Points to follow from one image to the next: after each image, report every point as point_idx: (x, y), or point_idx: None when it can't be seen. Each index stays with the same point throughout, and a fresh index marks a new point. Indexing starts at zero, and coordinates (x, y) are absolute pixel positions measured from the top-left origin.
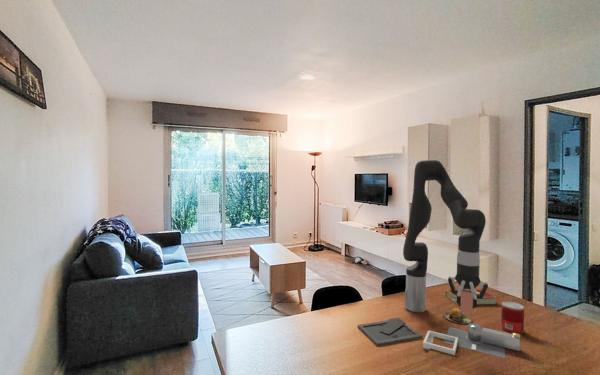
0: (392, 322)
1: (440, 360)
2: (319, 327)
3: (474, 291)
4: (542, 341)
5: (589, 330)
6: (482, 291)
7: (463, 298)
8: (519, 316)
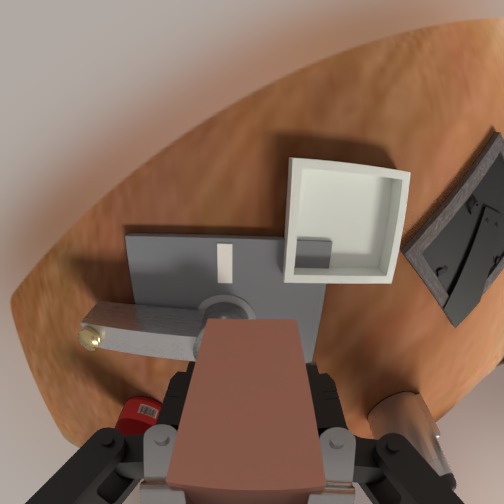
0: (474, 288)
1: (335, 113)
2: None
3: (148, 500)
4: (88, 379)
5: (60, 425)
6: (74, 489)
7: (285, 413)
8: None
